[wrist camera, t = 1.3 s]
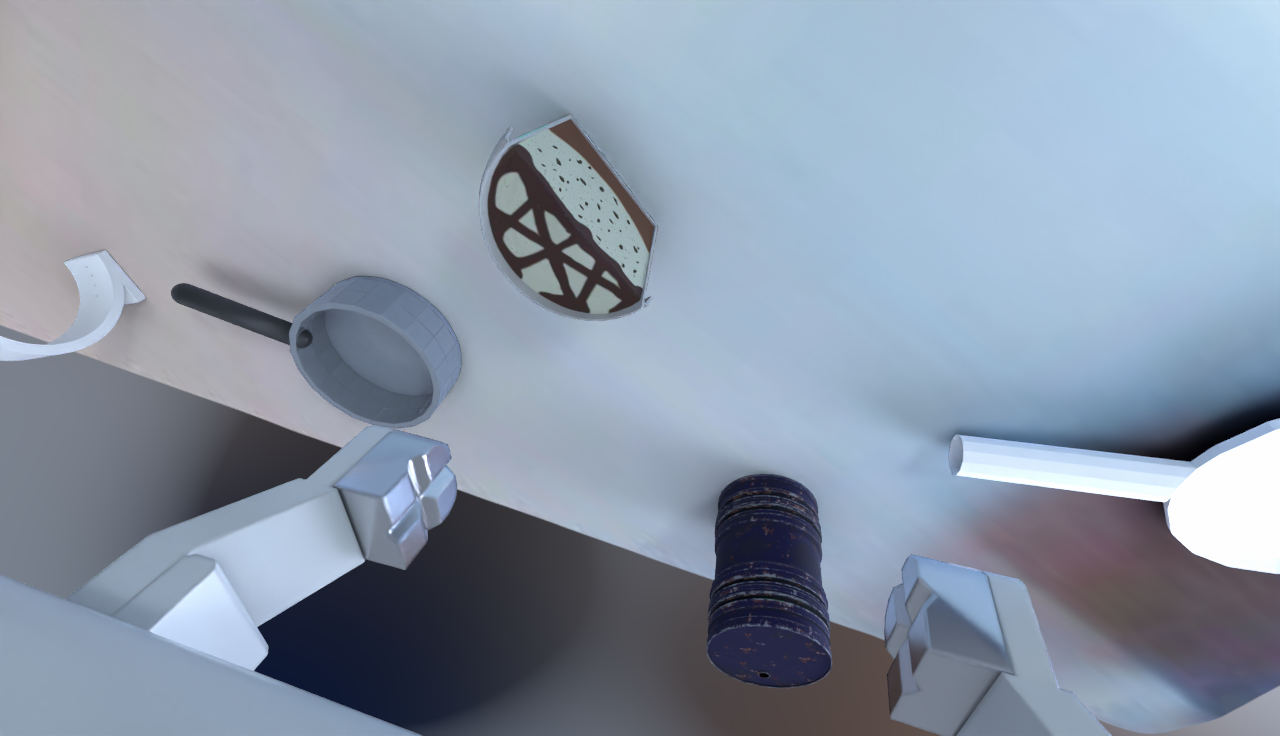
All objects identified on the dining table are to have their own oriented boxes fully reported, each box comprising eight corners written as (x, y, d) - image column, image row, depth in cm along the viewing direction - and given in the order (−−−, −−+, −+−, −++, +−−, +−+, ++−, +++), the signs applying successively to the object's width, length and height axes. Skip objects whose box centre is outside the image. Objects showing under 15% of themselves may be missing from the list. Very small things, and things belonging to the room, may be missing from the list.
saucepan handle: (185, 293, 48) (167, 303, 47) (181, 276, 47) (163, 286, 46) (317, 343, 49) (304, 355, 48) (317, 328, 48) (303, 339, 47)
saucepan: (323, 366, 55) (293, 395, 51) (320, 252, 46) (283, 278, 43) (452, 414, 56) (431, 446, 52) (471, 311, 47) (447, 341, 44)
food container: (493, 151, 39) (424, 205, 31) (555, 93, 36) (496, 136, 28) (607, 284, 43) (572, 359, 36) (670, 242, 40) (647, 315, 33)
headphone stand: (105, 249, 50) (-45, 321, 41) (154, 307, 54) (25, 385, 44) (71, 257, 52) (-82, 328, 42) (121, 313, 55) (-11, 390, 46)
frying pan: (918, 496, 54) (926, 537, 50) (988, 340, 41) (1004, 381, 38) (1370, 558, 47) (1413, 611, 43) (1616, 393, 34) (1703, 450, 31)
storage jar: (720, 467, 53) (708, 615, 42) (827, 479, 52) (845, 636, 40) (714, 532, 59) (702, 677, 48) (810, 544, 58) (821, 697, 46)
